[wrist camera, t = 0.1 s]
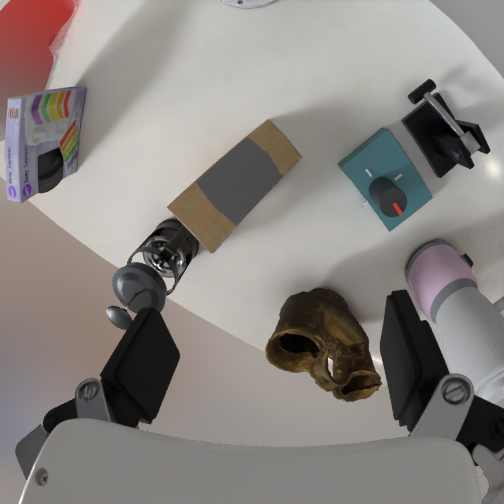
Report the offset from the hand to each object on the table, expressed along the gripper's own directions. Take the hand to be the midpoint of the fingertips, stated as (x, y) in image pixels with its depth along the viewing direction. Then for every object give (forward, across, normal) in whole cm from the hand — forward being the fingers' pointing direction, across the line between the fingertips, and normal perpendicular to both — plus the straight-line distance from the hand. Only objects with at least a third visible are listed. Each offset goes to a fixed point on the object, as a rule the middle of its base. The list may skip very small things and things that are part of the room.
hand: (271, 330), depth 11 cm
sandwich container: (+37, +6, +1) cm, 38 cm away
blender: (+38, -28, +22) cm, 52 cm away
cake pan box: (+37, +40, -15) cm, 57 cm away
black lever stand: (+37, -27, -3) cm, 46 cm away
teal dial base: (+37, -16, +5) cm, 41 cm away
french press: (+38, +23, +12) cm, 45 cm away
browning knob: (+34, -14, +6) cm, 38 cm away
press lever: (+31, -25, -6) cm, 40 cm away
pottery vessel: (+38, -4, +31) cm, 49 cm away
